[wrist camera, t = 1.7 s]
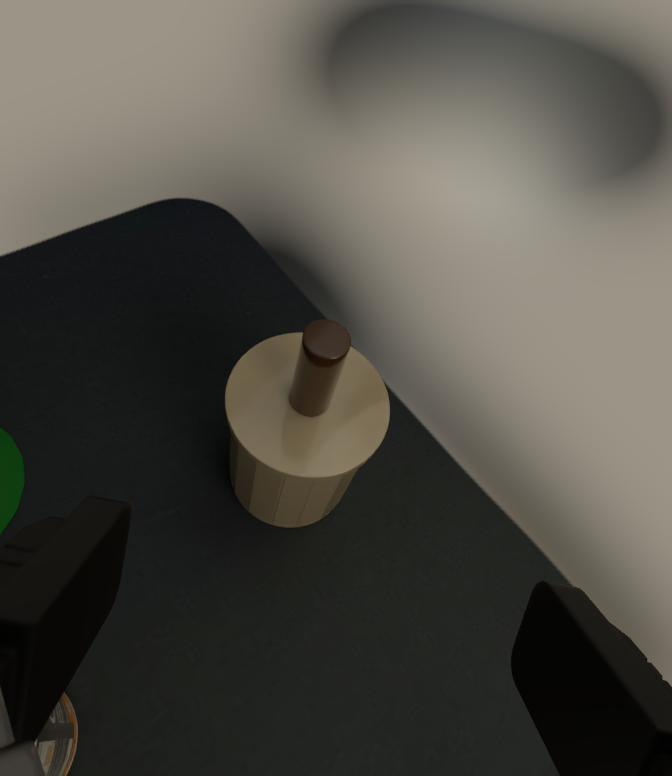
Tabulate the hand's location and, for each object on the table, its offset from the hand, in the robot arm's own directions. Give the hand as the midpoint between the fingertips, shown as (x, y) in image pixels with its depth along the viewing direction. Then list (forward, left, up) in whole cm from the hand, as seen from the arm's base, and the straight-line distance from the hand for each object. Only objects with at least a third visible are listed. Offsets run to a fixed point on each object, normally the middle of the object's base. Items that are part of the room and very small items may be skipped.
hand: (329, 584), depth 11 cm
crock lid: (+4, -10, -12) cm, 16 cm away
